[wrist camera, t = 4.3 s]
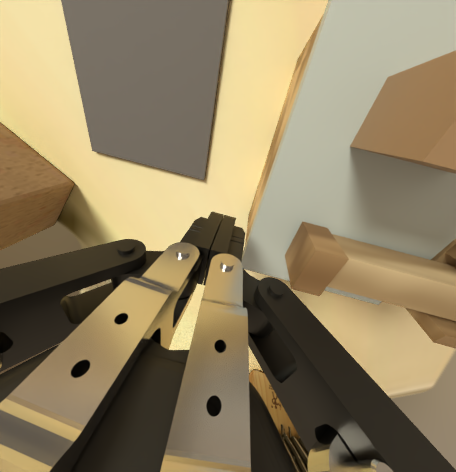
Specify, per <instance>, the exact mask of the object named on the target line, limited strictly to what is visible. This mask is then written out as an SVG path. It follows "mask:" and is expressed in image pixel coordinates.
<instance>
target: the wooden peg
mask: <svg viewBox="0 0 456 472" xmlns="http://www.w3.org/2000/svg"><path fill="white" fill-rule="evenodd" d="M285 259H286V264H287V269H288V274H289V279H290V284H291V289H295V290H298V291H302V292H306V293H309V294H313V295H317V296H320V295H321V293H322V292H323V291H324V290H325V288H326V287H330V288H334V289H338V290H342V291H345V292H349V293H353V294H356V295H360V296H364V297H368V298H371V299H375V300H379V301H383V302H386V303H390V304H394V305H397V306H401V307H405V308H409V309H412V310H416V311H420V312H424V313H427V314H431V315H435V316H439V317H442V318H446V319H450V320H453V321H456V266H452V265H448V264H444V263H440V262H437V261H433V260H429V259H425V258H422V257H418V256H414V255H410V254H406V253H403V252H399V251H395V250H391V249H387V248H384V247H380V246H376V245H372V244H369V243H365V242H361V241H357V240H353V239H350V238H346V237H342V236H338V235H334V234H331V232H330V231H329V229H328V228H326V227H322V226H318V225H314V224H311V223H307V222H303V221H302V223H301V225H300V227H299V229H298V231H297V233H296V235H295V236H294V238H293V240H292V242H291V244H290V246H289V248H288V250H287V252H286V254H285Z"/></svg>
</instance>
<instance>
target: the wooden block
mask: <svg viewBox="0 0 456 472" xmlns="http://www.w3.org/2000/svg"><path fill="white" fill-rule="evenodd" d="M73 186H74V183H73V182H72V181H71V180H70V179H69V178H68V177H66V176H65V175H64V174H63V173H62V172H60V171H59V170H58V169H57V168H55V167H54V166H53V165H52V164H50V163H49V162H48V161H47V160H45V159H44V158H43V157H42V156H41V155H39V154H38V153H37V152H36V151H34V150H33V149H32V148H31V147H29V146H28V145H27V144H26V143H25V142H23V141H22V140H21V139H20V138H18V137H17V136H16V135H15V134H13V133H12V132H11V131H10V130H9V129H7V128H6V127H5V126H4V125H2V124H1V123H0V250H2V249H4V248H7V247H9V246H11V245H13V244H15V243H17V242H19V241H21V240H23V239H25V238H27V237H30V236H32V235H34V234H36V233H38V232H40V231H42V230H45V229H47V228H49V227H51V226H53V225H54V224H55V223H56V221H57V219H58V217H59V215H60V213H61V211H62V209H63V207H64V205H65V202H66V200H67V198H68V196H69V194H70V192H71V190H72V188H73Z"/></svg>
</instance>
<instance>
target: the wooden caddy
mask: <svg viewBox="0 0 456 472" xmlns="http://www.w3.org/2000/svg"><path fill="white" fill-rule="evenodd" d="M323 15H324V14H323ZM322 18H323V16H322ZM322 18H321V20H320V21H319V23H318V25H317V27H316V28H315V30H314V32H313V34H312V35H311V37H310V39H309V41H308V42H307V44H306V46H305V48H304V49H303V51H302V53H301V55H300V56H299V58H298V61H297V64H296V67H295V70H294V73H293V77H292V80H291V83H290V86H289V89H288V93H287V96H286V99H285V102H284V105H283V108H282V112H281V115H280V118H279V121H278V124H277V127H276V131H275V134H274V137H273V140H272V143H271V147H270V150H269V153H268V156H267V159H266V162H265V166H264V169H263V172H262V175H261V178H260V181H259V185H258V188H257V191H256V194H255V197H254V201H253V204H252V207H251V210H250V213H249V217H248V226H247V235H246V242H247V239H248V236H249V233H250V230H251V227H252V224H253V221H254V218H255V215H256V212H257V209H258V206H259V204H260V201H261V198H262V195H263V192H264V189H265V186H266V183H267V180H268V177H269V174H270V171H271V168H272V165H273V162H274V159H275V156H276V153H277V150H278V148H279V145H280V142H281V139H282V136H283V133H284V130H285V127H286V124H287V121H288V118H289V115H290V112H291V109H292V106H293V103H294V100H295V97H296V94H297V91H298V89H299V86H300V83H301V80H302V77H303V74H304V71H305V68H306V65H307V62H308V59H309V56H310V53H311V50H312V47H313V44H314V41H315V38H316V35H317V33H318V30H319V27H320V24H321V21H322ZM245 245H246V243H245ZM431 260H433V261H437V262H440V263H444V264H448V265H452V266H456V239H454V240H453V241H452V242H451V243H450V244H449V245H447V246H446V247H445V248H444V249H443V250H442V251H440V252H439V253H438V254H437V255H436V256H435V257H433V258H432V259H431ZM406 309H407V310H408V312H409V313H410V314H411V315H412V316H413V318H414V319H415V320H416V321H417V323H418V324H419V325H420V326H421V328H422V329H423V330H424V331H425V332H426V334H427V335H428V336H429V337H430V339H431V340H432V341H433V342H434V343H438V344H442V345H445V346H449V347H453V348H456V321H453V320H450V319H446V318H442V317H439V316H435V315H431V314H427V313H424V312H420V311H416V310H412V309H409V308H406Z"/></svg>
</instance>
